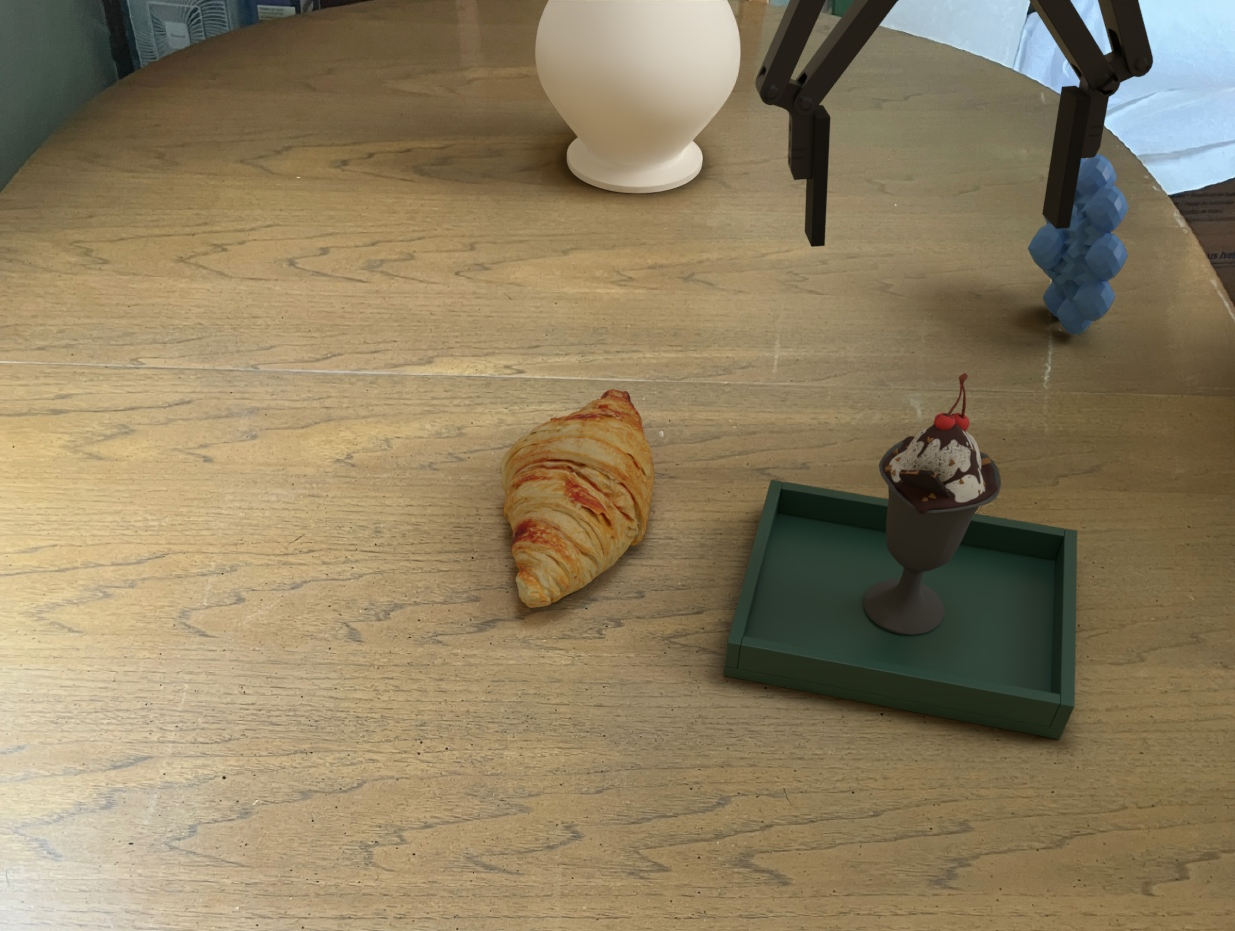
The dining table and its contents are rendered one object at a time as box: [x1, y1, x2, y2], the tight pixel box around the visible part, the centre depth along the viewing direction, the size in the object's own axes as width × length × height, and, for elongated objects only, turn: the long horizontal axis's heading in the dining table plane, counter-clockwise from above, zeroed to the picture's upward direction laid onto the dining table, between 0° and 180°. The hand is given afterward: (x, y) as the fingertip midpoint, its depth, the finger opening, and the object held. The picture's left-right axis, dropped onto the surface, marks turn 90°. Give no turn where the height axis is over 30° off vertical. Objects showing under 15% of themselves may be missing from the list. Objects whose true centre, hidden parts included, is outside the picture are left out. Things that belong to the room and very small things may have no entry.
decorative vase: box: [534, 0, 741, 194], centre depth 104 cm, size 18×18×25 cm
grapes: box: [1027, 153, 1130, 336], centre depth 94 cm, size 12×7×12 cm, turn 7°
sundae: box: [864, 372, 1002, 635], centre depth 70 cm, size 7×7×15 cm
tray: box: [722, 479, 1078, 740], centre depth 75 cm, size 20×16×3 cm
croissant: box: [499, 388, 656, 609], centre depth 80 cm, size 21×10×8 cm, turn 166°
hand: (934, 230), depth 70 cm, fingers open, 13 cm apart
